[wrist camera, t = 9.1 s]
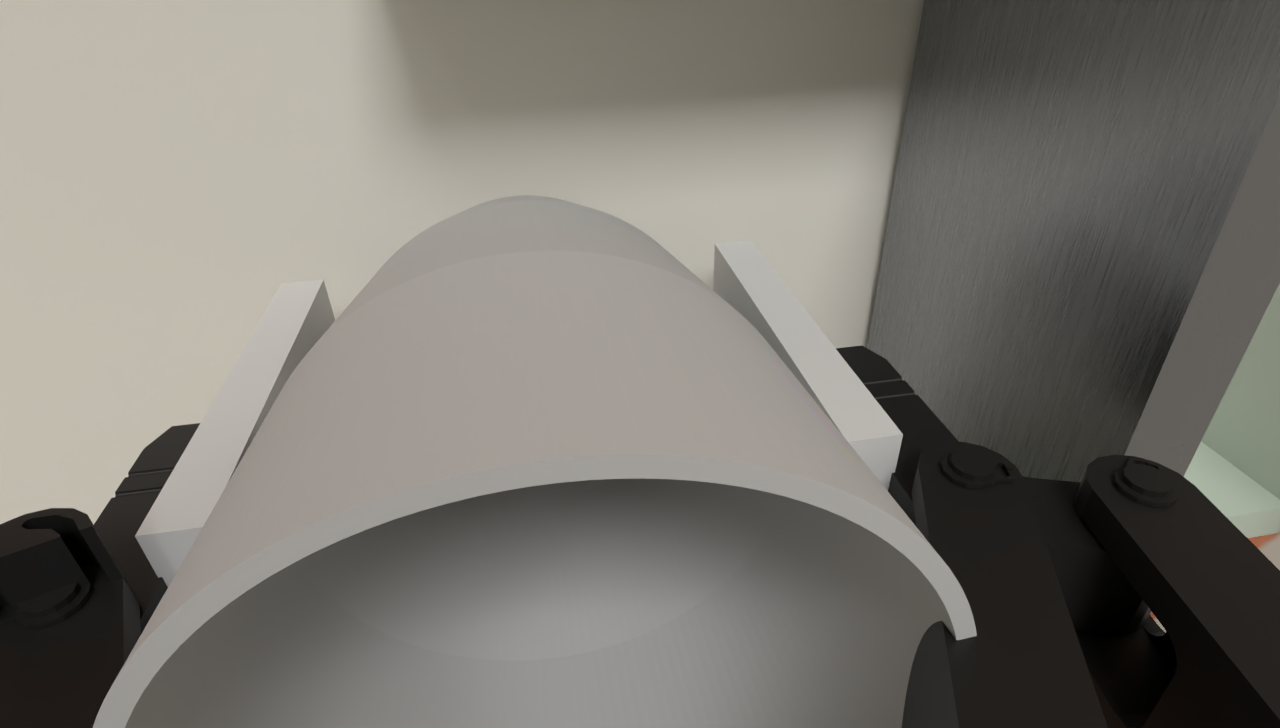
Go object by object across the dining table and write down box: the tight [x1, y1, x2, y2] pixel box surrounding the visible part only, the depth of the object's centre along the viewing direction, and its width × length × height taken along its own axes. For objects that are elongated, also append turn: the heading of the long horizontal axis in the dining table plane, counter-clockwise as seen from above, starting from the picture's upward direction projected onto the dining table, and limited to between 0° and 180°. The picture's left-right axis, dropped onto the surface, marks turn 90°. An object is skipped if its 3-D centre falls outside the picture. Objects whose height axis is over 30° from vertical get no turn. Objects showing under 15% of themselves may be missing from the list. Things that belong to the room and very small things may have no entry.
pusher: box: [867, 0, 1280, 482], centre depth 13 cm, size 1×13×8 cm, turn 2°
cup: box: [93, 195, 977, 728], centre depth 11 cm, size 8×8×10 cm
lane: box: [0, 0, 1280, 538], centre depth 13 cm, size 34×16×9 cm, turn 92°
